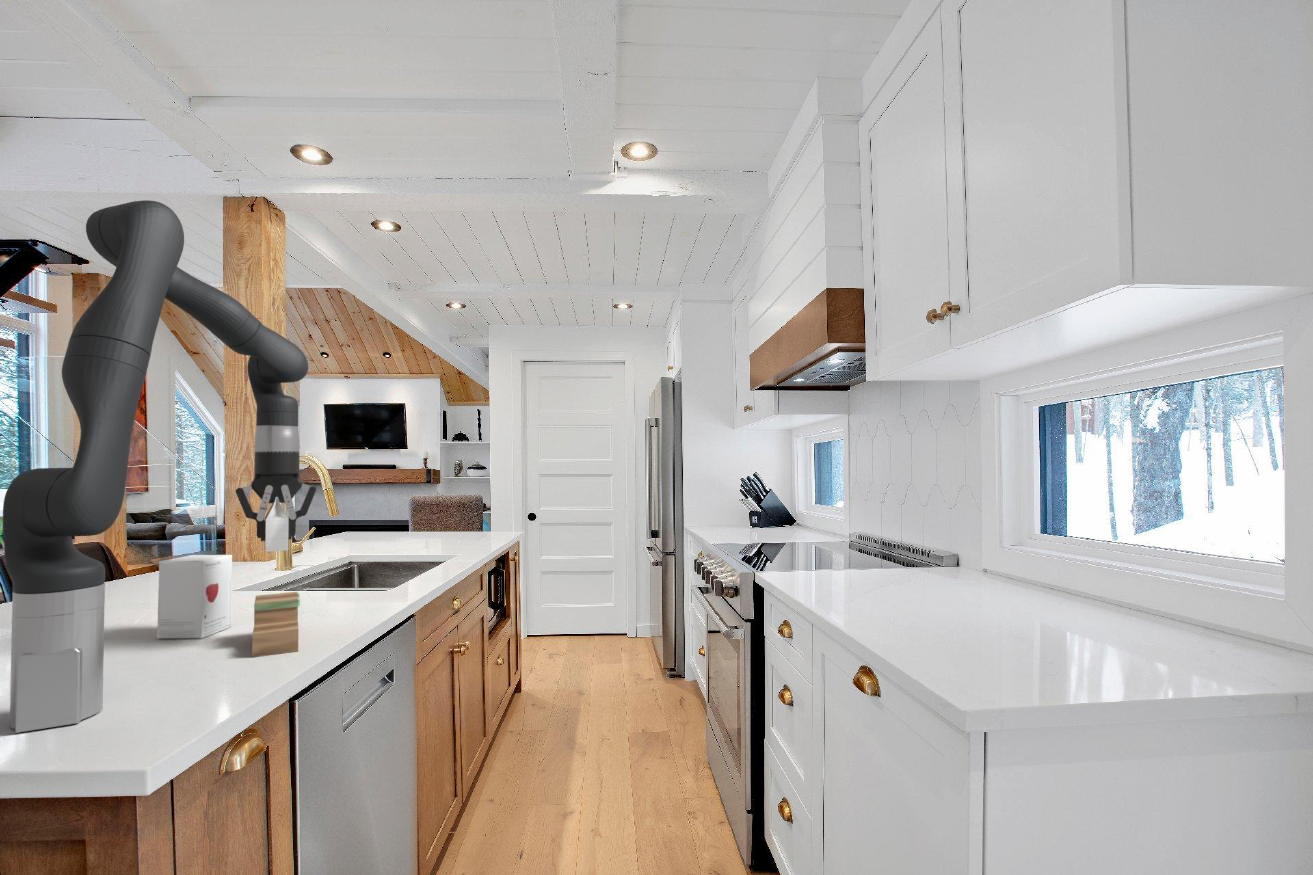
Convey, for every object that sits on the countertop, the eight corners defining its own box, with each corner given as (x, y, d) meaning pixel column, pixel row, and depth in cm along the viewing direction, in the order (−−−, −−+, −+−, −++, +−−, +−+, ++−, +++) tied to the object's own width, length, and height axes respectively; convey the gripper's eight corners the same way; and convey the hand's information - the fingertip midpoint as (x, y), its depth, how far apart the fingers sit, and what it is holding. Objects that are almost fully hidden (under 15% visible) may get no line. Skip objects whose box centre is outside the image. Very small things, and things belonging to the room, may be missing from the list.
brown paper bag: (300, 650, 118) (300, 605, 118) (252, 657, 114) (252, 610, 115) (298, 631, 131) (298, 591, 131) (255, 637, 127) (256, 595, 128)
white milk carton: (286, 546, 130) (286, 495, 130) (288, 550, 124) (288, 496, 125) (264, 547, 128) (265, 496, 128) (265, 551, 122) (266, 497, 123)
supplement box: (201, 639, 126) (202, 560, 127) (155, 639, 126) (156, 561, 127) (233, 627, 135) (233, 553, 136) (189, 627, 135) (190, 554, 136)
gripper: (232, 449, 120) (231, 544, 119) (319, 449, 127) (319, 539, 126) (234, 450, 126) (233, 540, 126) (318, 450, 133) (317, 535, 133)
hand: (276, 539), depth 126 cm, fingers closed on white milk carton, 3 cm apart
